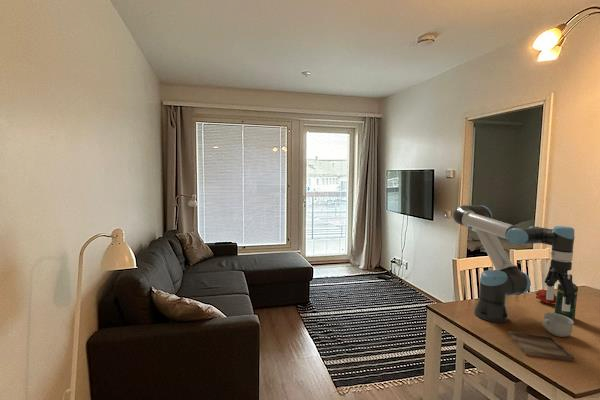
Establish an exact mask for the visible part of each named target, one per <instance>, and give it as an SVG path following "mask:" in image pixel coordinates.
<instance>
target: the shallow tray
mask: <svg viewBox="0 0 600 400" xmlns="http://www.w3.org/2000/svg"><path fill="white" fill-rule="evenodd" d="M508 336H509V337H510V338H511V340H513V342H514V343H515V344H516V346H518V348H519V349H520V350H521V351H522V353H523V355H525V356H531V357H538V358H546V359H552V360H561V361H565V362H566V361H567V362H573V363H574V362H575V356H573V354H572V353H570V352H569V351H568V350H567V349H566V348H565V347H564V346H563V345H561V343H560V342H558V341H557V339H555V338H554V337H553V335H552V336H551V335H543V334H536V333H527V332H520V331H513V330H512V331H511V330H509V331H508Z"/></svg>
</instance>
